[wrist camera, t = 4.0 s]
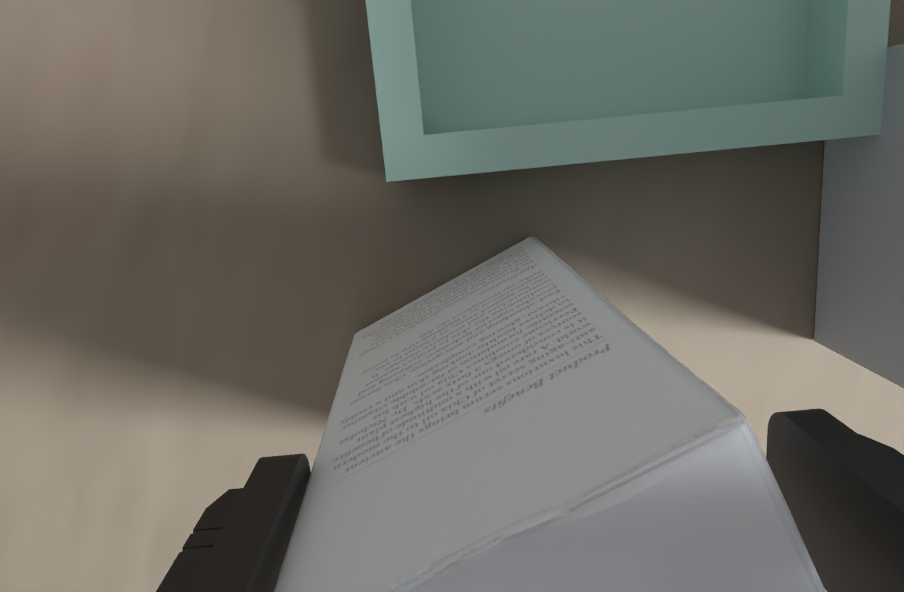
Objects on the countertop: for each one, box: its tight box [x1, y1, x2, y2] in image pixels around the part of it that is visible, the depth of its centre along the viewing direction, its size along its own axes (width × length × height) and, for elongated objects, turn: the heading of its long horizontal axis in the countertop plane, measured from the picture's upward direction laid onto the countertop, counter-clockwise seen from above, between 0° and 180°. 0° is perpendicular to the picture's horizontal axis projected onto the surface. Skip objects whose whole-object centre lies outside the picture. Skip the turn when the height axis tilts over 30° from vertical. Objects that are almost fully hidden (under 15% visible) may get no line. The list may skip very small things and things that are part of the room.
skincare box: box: [274, 236, 826, 592], centre depth 13 cm, size 6×4×12 cm
